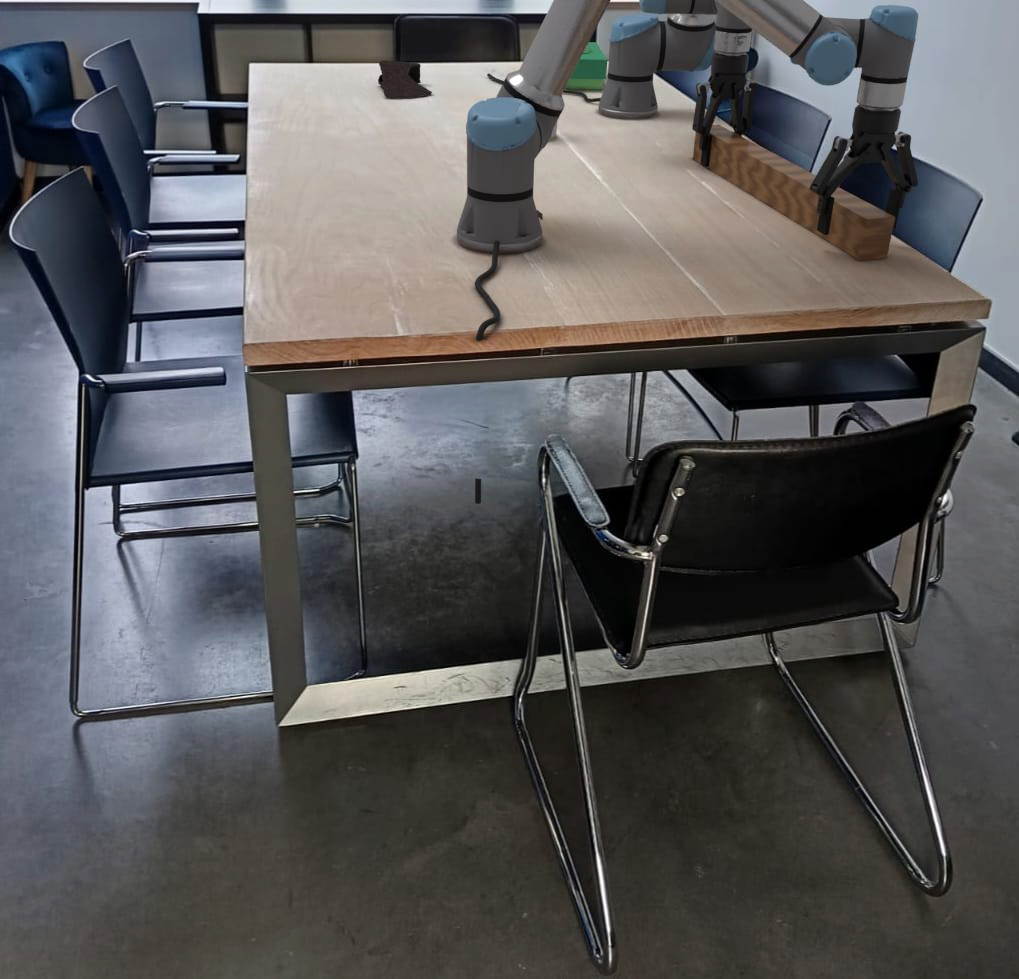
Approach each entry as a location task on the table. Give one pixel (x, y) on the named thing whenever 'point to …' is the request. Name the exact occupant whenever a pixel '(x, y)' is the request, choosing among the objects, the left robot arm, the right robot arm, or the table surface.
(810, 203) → the post
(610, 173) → the table surface
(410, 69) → the axe head
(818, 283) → the table surface
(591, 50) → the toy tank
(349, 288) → the table surface
